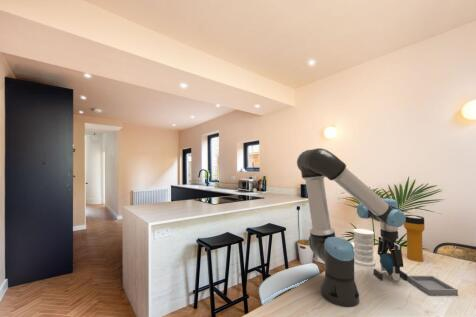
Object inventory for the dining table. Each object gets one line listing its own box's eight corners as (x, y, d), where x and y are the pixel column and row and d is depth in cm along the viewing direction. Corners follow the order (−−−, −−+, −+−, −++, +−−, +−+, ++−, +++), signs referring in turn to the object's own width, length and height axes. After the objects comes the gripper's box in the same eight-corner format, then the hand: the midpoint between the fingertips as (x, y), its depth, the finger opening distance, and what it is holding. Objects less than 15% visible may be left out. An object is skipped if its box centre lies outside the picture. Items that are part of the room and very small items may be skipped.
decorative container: (354, 264, 127) (354, 233, 128) (351, 257, 138) (350, 227, 139) (377, 268, 123) (377, 235, 124) (372, 259, 134) (372, 229, 135)
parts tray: (429, 295, 97) (428, 289, 97) (406, 280, 110) (406, 275, 110) (457, 295, 97) (457, 289, 97) (432, 280, 110) (432, 275, 110)
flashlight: (404, 216, 135) (402, 213, 144) (405, 259, 134) (403, 254, 143) (425, 218, 130) (422, 215, 138) (426, 263, 129) (423, 257, 138)
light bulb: (403, 282, 108) (403, 257, 108) (384, 280, 110) (383, 256, 110) (395, 274, 116) (394, 251, 116) (377, 272, 118) (377, 249, 118)
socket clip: (380, 280, 110) (380, 274, 110) (373, 274, 116) (373, 268, 116) (407, 280, 110) (407, 274, 110) (398, 274, 116) (398, 268, 116)
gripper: (412, 236, 103) (413, 286, 102) (382, 224, 124) (383, 265, 123) (396, 236, 103) (397, 286, 102) (369, 224, 124) (369, 265, 123)
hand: (389, 274), depth 113 cm, fingers closed on light bulb, 8 cm apart
